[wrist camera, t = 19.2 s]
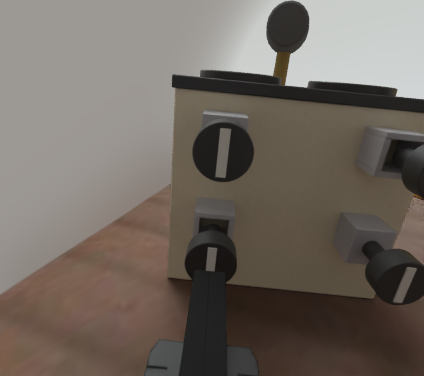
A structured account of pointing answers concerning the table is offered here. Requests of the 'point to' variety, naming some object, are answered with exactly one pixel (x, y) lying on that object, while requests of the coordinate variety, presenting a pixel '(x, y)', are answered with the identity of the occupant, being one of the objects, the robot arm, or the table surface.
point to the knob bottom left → (211, 253)
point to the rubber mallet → (286, 33)
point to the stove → (296, 182)
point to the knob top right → (411, 168)
